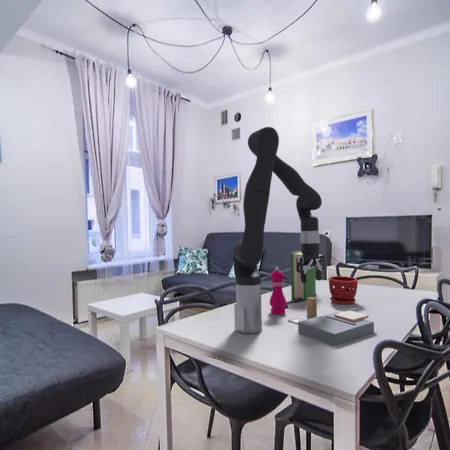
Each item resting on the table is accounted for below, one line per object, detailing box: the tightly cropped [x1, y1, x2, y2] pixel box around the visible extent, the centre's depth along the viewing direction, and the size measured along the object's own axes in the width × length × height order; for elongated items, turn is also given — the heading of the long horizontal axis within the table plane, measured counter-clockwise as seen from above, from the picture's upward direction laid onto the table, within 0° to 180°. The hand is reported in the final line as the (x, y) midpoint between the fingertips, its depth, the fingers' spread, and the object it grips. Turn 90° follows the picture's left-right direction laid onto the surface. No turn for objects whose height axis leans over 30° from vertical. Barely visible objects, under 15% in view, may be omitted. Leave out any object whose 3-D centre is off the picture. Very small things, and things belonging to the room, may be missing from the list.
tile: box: [335, 310, 369, 322], centre depth 118 cm, size 9×8×1 cm
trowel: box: [287, 296, 320, 325], centre depth 128 cm, size 14×7×9 cm, turn 123°
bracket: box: [284, 297, 305, 309], centre depth 156 cm, size 14×15×3 cm
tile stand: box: [297, 311, 375, 346], centre depth 113 cm, size 21×16×4 cm
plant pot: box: [328, 275, 358, 306], centre depth 154 cm, size 13×13×12 cm
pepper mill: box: [269, 266, 287, 315], centre depth 139 cm, size 7×7×20 cm
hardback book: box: [290, 250, 317, 302], centre depth 169 cm, size 18×7×24 cm, turn 148°
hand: (311, 281), depth 129 cm, fingers open, 8 cm apart
